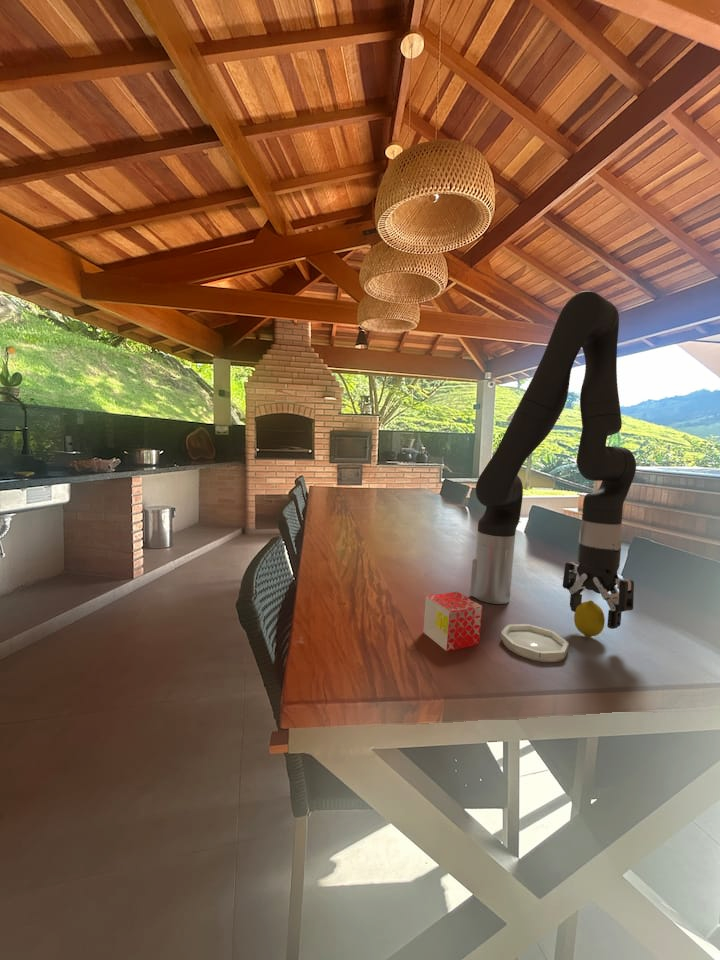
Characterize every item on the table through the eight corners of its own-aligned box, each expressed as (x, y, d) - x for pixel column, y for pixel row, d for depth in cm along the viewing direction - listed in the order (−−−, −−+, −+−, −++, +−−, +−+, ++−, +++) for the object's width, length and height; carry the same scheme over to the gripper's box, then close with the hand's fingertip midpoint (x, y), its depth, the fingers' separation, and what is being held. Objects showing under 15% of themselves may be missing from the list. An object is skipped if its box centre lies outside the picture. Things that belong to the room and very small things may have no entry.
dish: (494, 647, 78) (495, 638, 78) (511, 627, 87) (512, 619, 87) (560, 669, 71) (561, 660, 71) (570, 645, 81) (571, 636, 80)
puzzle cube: (423, 632, 83) (425, 595, 82) (454, 627, 86) (456, 591, 86) (446, 651, 76) (449, 611, 75) (479, 644, 79) (482, 606, 78)
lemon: (602, 646, 80) (606, 608, 80) (571, 638, 83) (575, 601, 83) (602, 636, 85) (606, 600, 84) (573, 628, 88) (577, 593, 87)
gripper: (557, 536, 88) (552, 608, 89) (620, 553, 75) (613, 636, 76) (582, 534, 91) (577, 604, 92) (647, 550, 77) (639, 631, 79)
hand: (593, 619), depth 84 cm, fingers open, 8 cm apart
